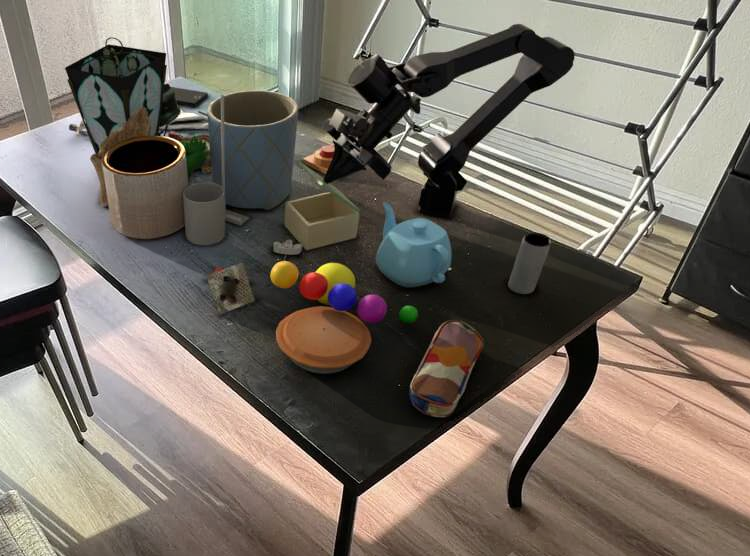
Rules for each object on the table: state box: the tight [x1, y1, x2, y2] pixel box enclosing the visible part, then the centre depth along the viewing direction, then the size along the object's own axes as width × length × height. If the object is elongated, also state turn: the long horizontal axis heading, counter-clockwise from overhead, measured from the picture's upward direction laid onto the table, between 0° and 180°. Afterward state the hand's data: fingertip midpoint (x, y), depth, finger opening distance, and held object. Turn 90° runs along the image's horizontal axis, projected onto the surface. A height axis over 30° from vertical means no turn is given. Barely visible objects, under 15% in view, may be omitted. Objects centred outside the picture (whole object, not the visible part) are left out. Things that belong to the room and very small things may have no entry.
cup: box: [183, 181, 226, 246], centre depth 141 cm, size 8×8×10 cm
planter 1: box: [102, 135, 190, 240], centre depth 144 cm, size 18×18×16 cm
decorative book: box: [177, 132, 211, 174], centre depth 165 cm, size 13×18×5 cm
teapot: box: [375, 201, 452, 288], centre depth 127 cm, size 13×11×18 cm
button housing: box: [302, 148, 332, 175], centre depth 162 cm, size 10×7×3 cm
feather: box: [169, 127, 191, 135], centre depth 169 cm, size 2×28×2 cm
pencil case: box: [409, 319, 485, 418], centre depth 106 cm, size 11×20×5 cm, turn 163°
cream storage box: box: [284, 191, 360, 251], centre depth 140 cm, size 11×10×6 cm
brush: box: [220, 93, 250, 226], centre depth 140 cm, size 4×27×9 cm
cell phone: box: [170, 86, 209, 107], centre depth 199 cm, size 9×18×1 cm, turn 62°
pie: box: [275, 305, 372, 375], centre depth 113 cm, size 16×16×5 cm
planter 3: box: [507, 232, 553, 295], centre depth 121 cm, size 4×4×10 cm
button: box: [320, 144, 334, 158], centre depth 161 cm, size 4×4×2 cm
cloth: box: [159, 108, 208, 130], centre depth 187 cm, size 26×14×2 cm, turn 38°
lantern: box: [64, 36, 168, 154], centre depth 160 cm, size 17×17×30 cm
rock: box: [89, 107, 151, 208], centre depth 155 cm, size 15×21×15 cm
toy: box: [180, 135, 209, 184], centre depth 150 cm, size 17×9×15 cm, turn 32°
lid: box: [296, 160, 361, 214], centre depth 135 cm, size 12×10×1 cm
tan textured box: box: [206, 262, 256, 315], centre depth 127 cm, size 8×8×6 cm
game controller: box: [272, 239, 303, 261], centre depth 134 cm, size 6×12×3 cm, turn 2°
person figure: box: [68, 119, 88, 136], centre depth 184 cm, size 12×15×3 cm
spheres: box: [269, 260, 419, 324], centre depth 118 cm, size 25×8×17 cm
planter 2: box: [206, 89, 299, 211], centre depth 149 cm, size 19×19×20 cm
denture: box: [167, 130, 184, 140], centre depth 173 cm, size 6×4×8 cm
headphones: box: [159, 83, 182, 137], centre depth 173 cm, size 13×13×20 cm
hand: (325, 182), depth 134 cm, fingers closed, pressing on lid
